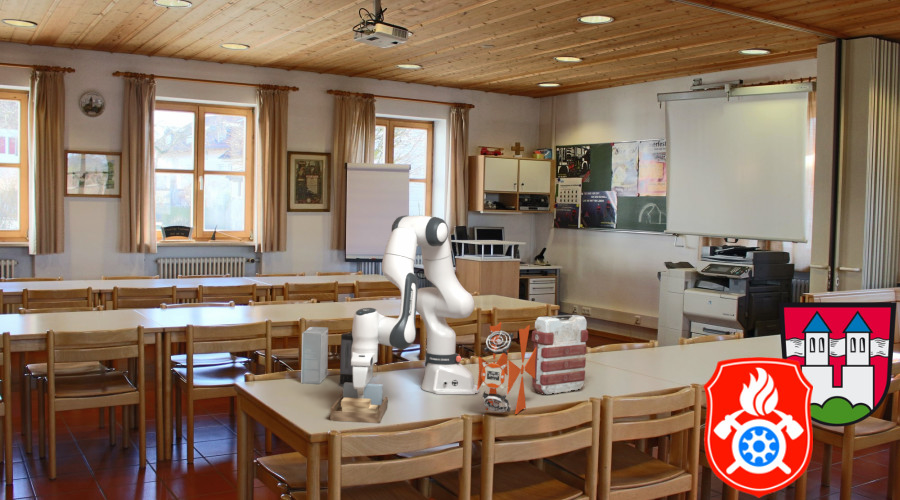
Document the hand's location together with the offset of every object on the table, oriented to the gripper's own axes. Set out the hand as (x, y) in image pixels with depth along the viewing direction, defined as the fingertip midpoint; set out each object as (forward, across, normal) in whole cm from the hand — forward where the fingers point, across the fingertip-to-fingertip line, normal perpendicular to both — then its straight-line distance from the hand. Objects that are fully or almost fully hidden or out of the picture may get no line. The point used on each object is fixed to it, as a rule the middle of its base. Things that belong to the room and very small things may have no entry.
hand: (362, 396), depth 268 cm
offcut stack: (+5, +9, 0) cm, 11 cm away
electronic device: (+5, -38, -11) cm, 40 cm away
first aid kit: (+5, -44, +70) cm, 83 cm away
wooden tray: (+5, +5, 0) cm, 7 cm away
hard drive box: (+5, -43, -26) cm, 51 cm away
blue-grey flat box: (+5, 0, 0) cm, 5 cm away
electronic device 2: (+5, -10, +49) cm, 50 cm away
